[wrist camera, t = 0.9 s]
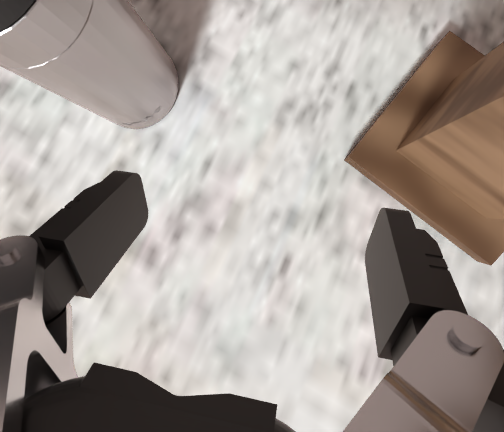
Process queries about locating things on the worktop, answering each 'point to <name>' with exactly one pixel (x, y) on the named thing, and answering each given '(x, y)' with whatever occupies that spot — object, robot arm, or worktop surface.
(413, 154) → the tall stand
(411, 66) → the worktop surface
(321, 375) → the worktop surface
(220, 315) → the worktop surface
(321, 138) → the worktop surface
